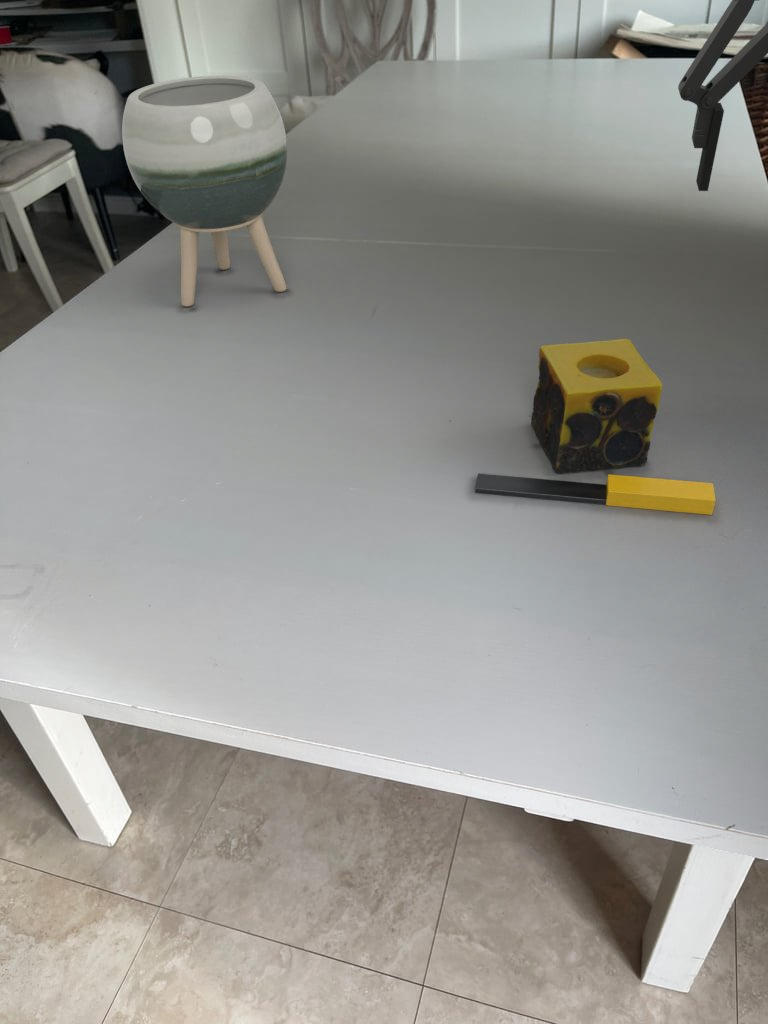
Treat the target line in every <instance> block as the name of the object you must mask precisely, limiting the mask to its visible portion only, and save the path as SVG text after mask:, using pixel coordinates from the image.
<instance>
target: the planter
mask: <svg viewBox="0 0 768 1024" xmlns="http://www.w3.org/2000/svg"><path fill="white" fill-rule="evenodd" d="M121 137H122V138H121V140H122V146H123V148H122V149H123V153H124V157H125V162H126V164H127V167H128V170H129V173H130V175H131V177H132V180H133V181H134V184H135V185H136V187H137V188H138V190H139V192H140V193H141V195H142V196H143V197H144V199H145V200H146V201H147V202H148V203H149V205H151V207H152V208H153V209H154V210H155V211H156V212H158V213H159V214H160V215H161V216H163V217H164V218H166V219H167V220H168V221H170V222H172V223H173V224H174V225H175V226H176V227H177V228H180V229H179V230H180V304H181V305H182V306H183V307H186V308H188V307H191V306H194V303H195V299H196V298H195V297H196V296H195V295H196V282H197V271H198V258H199V257H198V256H199V241H200V239H199V238H200V233H211V237H212V242H213V248H214V253H215V257H216V261H217V266H218V268H219V269H220V270H225V271H226V270H228V269H230V268H231V258H230V248H229V241H228V239H229V238H228V232H227V231H232V230H235V229H241V228H244V227H246V230H247V231H248V234H249V236H250V238H251V241H252V243H253V246H254V248H255V250H256V253H257V254H258V257H259V260H260V262H261V263H262V265H263V268H264V270H265V272H266V274H267V276H268V278H269V281H270V283H271V285H272V287H273V290H274V291H275V292H278V293H283V292H285V291H286V290H287V284H286V281H285V277H284V275H283V272H282V270H281V267H280V265H279V262H278V259H277V257H276V254H275V252H274V251H275V250H274V249H273V246H272V242H271V240H270V238H269V234H268V232H267V229H266V227H265V223H264V219H263V216H264V214H265V211H267V209H268V208H269V207H270V205H271V204H272V203H273V201H274V200H275V198H276V196H277V194H278V193H279V191H280V188H281V186H282V183H283V180H284V177H285V173H286V168H287V163H288V162H287V159H288V141H287V134H286V128H285V123H284V121H283V117H282V114H281V111H280V109H279V107H278V104H277V101H276V100H275V98H274V96H273V95H272V93H271V92H270V90H269V88H268V87H267V85H266V84H265V83H264V82H263V81H261V80H259V79H256V78H252V77H248V76H241V75H203V76H190V77H183V78H176V79H169V80H164V81H160V82H156V83H152V84H149V85H146V86H143V87H141V88H138V89H136V90H133V92H131V93H130V94H129V95H128V97H127V99H126V101H125V105H124V109H123V115H122V124H121Z"/></svg>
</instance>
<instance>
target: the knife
mask: <svg viewBox="0 0 768 1024" xmlns="http://www.w3.org/2000/svg"><path fill="white" fill-rule="evenodd" d="M474 490H475V491H474V493H476V494H486V495H497V496H508V497H517V498H518V497H519V498H530V499H541V500H552V501H560V502H561V501H562V502H572V503H584V504H593V505H594V504H596V505H605V506H609V507H610V506H611V507H620V508H633V509H641V510H654V511H663V512H675V513H685V514H687V513H688V514H695V515H696V514H699V515H708V516H712V515H713V512H714V510H715V505H716V501H717V500H716V494H715V488H714V483H713V482H704V481H692V480H680V479H667V478H657V477H655V478H654V477H642V476H632V475H622V474H621V475H619V474H607V479H606V484H604V483H593V482H581V481H571V480H569V481H568V480H557V479H545V478H533V477H522V476H511V475H500V474H488V473H477V478H476V483H475V488H474Z"/></svg>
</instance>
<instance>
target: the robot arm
mask: <svg viewBox="0 0 768 1024" xmlns="http://www.w3.org/2000/svg"><path fill="white" fill-rule="evenodd" d="M758 1H760V0H731V1H730V3H729V4H728V6H727V7H726V9H725V11H724V12H723V14H722V15H721V16H720V18H719V20H718V22H717V23H716V25H715V26H714V28H713V30H712V31H711V33H710V34H709V36H708V37H707V39H706V41H705V42H704V44H703V45H702V47H701V48H700V50H699V51H698V53H697V55H696V56H695V58H694V60H693V61H692V63H691V64H690V66H689V67H688V68H687V70H686V72H685V73H684V75H683V77H682V78H681V80H680V81H679V83H678V87H677V89H678V92H679V96H680V98H681V100H683V101H685V102H687V101H688V102H690V103H692V104H694V105H696V106H697V107H696V112H695V117H694V123H693V124H694V125H693V129H692V134H691V142H692V145H693V148H694V149H701V154H700V159H699V165H698V169H697V174H696V180H695V182H696V185H697V189H698V191H699V192H708V191H709V186H710V182H711V177H712V173H713V167H714V162H715V157H716V152H717V148H718V143H719V138H720V133H721V127H722V123H723V118H724V113H725V109H724V107H723V105H722V102H720V101H721V100H722V99H723V98H724V97H725V96H726V95H728V93H729V92H731V90H732V89H733V88H734V87H736V85H737V84H738V83H739V82H740V81H741V80H742V79H743V78H745V77H746V75H748V74H749V73H750V72H751V71H752V70H753V69H754V68H755V67H756V66H757V65H758V64H759V63H760V62H761V61H762V60H763V59H764V58H765V57H766V56H767V55H768V20H766V23H765V24H764V26H763V27H761V29H759V31H758V32H756V34H755V35H754V36H753V37H751V39H750V40H749V41H747V43H746V44H745V45H743V47H742V48H741V49H740V50H739V51H738V52H737V53H736V54H735V55H734V56H733V57H732V58H731V59H730V60H729V61H728V62H727V63H726V64H725V65H724V66H723V67H722V68H721V69H720V70H719V71H718V72H717V73H716V74H715V75H714V76H713V77H712V78H711V79H710V80H709V81H708V82H707V83H706V84H705V85H703V83H704V82H705V81H706V79H707V78H708V76H709V75H710V73H711V71H712V70H713V68H714V67H715V65H716V64H717V63H718V62H719V59H720V58H721V56H722V54H724V52H725V50H726V49H727V47H728V45H729V44H730V42H731V41H732V40H733V38H734V36H735V35H736V33H737V32H738V30H739V29H740V27H741V26H742V24H743V22H744V21H745V20H746V18H747V17H748V15H749V13H750V12H751V10H752V8H753V5H754V4H755V2H758Z"/></svg>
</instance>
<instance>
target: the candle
mask: <svg viewBox="0 0 768 1024" xmlns="http://www.w3.org/2000/svg"><path fill="white" fill-rule="evenodd" d="M538 354H539V355H538V382H537V386H536V389H535V393H534V396H533V403H532V405H533V407H532V413H531V419H530V420H531V422H530V425H531V426H533V430H534V431H535V435H536V437H537V439H538V441H539V444H540V446H541V447H542V448H543V451H544V452H545V455H546V456H547V457H548V459H549V461H550V463H551V466H552V470H553V471H554V472H555V473H557V474H564V473H577V472H585V471H589V472H592V471H600V470H607V469H615V468H616V469H621V468H624V467H642V466H644V465H646V463H647V462H648V455H649V451H650V449H651V448H650V447H651V436H652V432H653V429H654V423H655V422H654V420H655V419H656V417H657V413H658V410H659V405H660V401H661V396H662V391H663V385H664V384H663V382H662V381H661V380H660V378H659V377H658V376H657V375H656V373H654V371H653V370H652V369H651V368H650V366H649V365H648V364H647V363H646V361H645V360H644V359H643V357H642V355H640V353H639V352H638V350H637V348H636V347H635V346H634V344H633V343H632V341H631V340H630V339H629V338H618V339H610V340H599V341H598V340H596V341H589V342H588V341H587V342H575V343H574V342H572V343H571V342H570V343H558V344H543V345H541V346H539V350H538Z"/></svg>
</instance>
